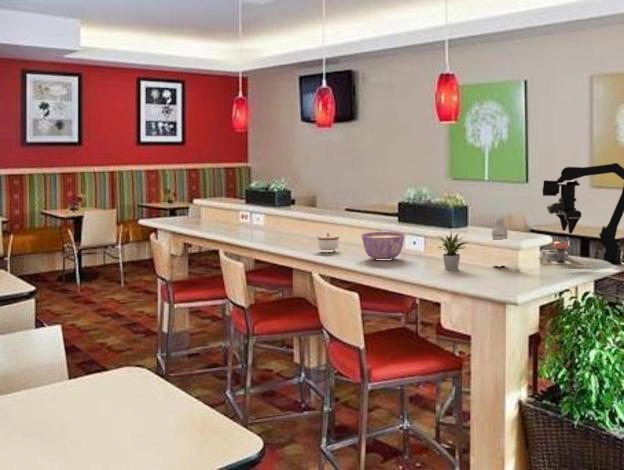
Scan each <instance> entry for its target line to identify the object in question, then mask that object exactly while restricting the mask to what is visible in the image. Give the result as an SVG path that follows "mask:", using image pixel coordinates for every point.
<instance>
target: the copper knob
mask: <svg viewBox="0 0 624 470" xmlns="http://www.w3.org/2000/svg"><path fill="white" fill-rule="evenodd" d="M553 248H554V250H557V262H558V263H564V262H565V251H566V249H567V250H568V249H569V242H568V241H564V240H563V241H562V240H557V241H553Z"/></svg>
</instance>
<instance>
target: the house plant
mask: <svg viewBox="0 0 624 470" xmlns="http://www.w3.org/2000/svg"><path fill="white" fill-rule="evenodd" d="M458 235H460V232H459V233H457V234H455V235H454V236H453V230H451V232H450V236H448V235H447V234H446V235H445V237H446V239H444V238H443V236H442V235H439V236H437V237H438V238H440V240H441V241H442V242H443V243H442V244H441V245H442V246H438V247H437V249H438V250H440V251H441V249H442V250H444V251H445V252H446V253H443V254H442V256H443V257H442V258H443V262H444V268H445V269H444V270H446V271H457V270H458V269H459V263H460V258H461V254H460V253H457V252H458V251H459V250H465V249H468V248H467V247H466V246H464V247H462V246H463V245H465V244H469V241H468V242H465V241H464V242H460V241H461V240H462V239H464V238H465V237H466V235H465V236H462V237H460V238H458Z"/></svg>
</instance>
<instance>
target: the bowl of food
mask: <svg viewBox="0 0 624 470" xmlns="http://www.w3.org/2000/svg"><path fill="white" fill-rule="evenodd" d="M405 236H406V234H405V233H403V232H398V231H397V232H396V231H373V232H372V231H371V232H367V233H362V234H361V239H362V244H363V247H364V249H365V253H366V254H367V256H368V257H370V258H371V259H374V260H375V259H391V258H392V259H395V258H397V257H399V256H400V254H401V253H402V250H403V245H404V240H405Z"/></svg>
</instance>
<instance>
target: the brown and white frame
mask: <svg viewBox="0 0 624 470" xmlns="http://www.w3.org/2000/svg"><path fill="white" fill-rule="evenodd" d="M540 252H541V253H540V256H541V257H539V258H540V263H539V264H541V265H543V266H583V265H584V264H583V263H582V262H580V261H577V260H576V259H574V258H572V257H570V256H569V252H567V251H566V250H565V262H564V263H558V262H557V249H541V251H540ZM563 269H570V267H568V268H566V267H565V268H564V267H563V268H562V270H563Z"/></svg>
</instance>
